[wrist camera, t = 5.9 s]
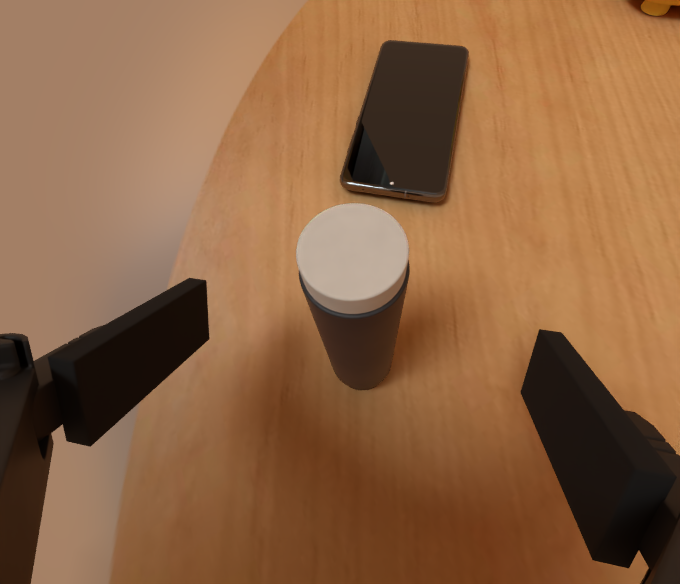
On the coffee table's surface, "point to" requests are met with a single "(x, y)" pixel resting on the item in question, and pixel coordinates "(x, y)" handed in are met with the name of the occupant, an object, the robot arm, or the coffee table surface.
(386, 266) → the dark grey capped cylinder
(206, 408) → the coffee table surface
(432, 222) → the coffee table surface
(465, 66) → the smartphone
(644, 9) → the teapot
